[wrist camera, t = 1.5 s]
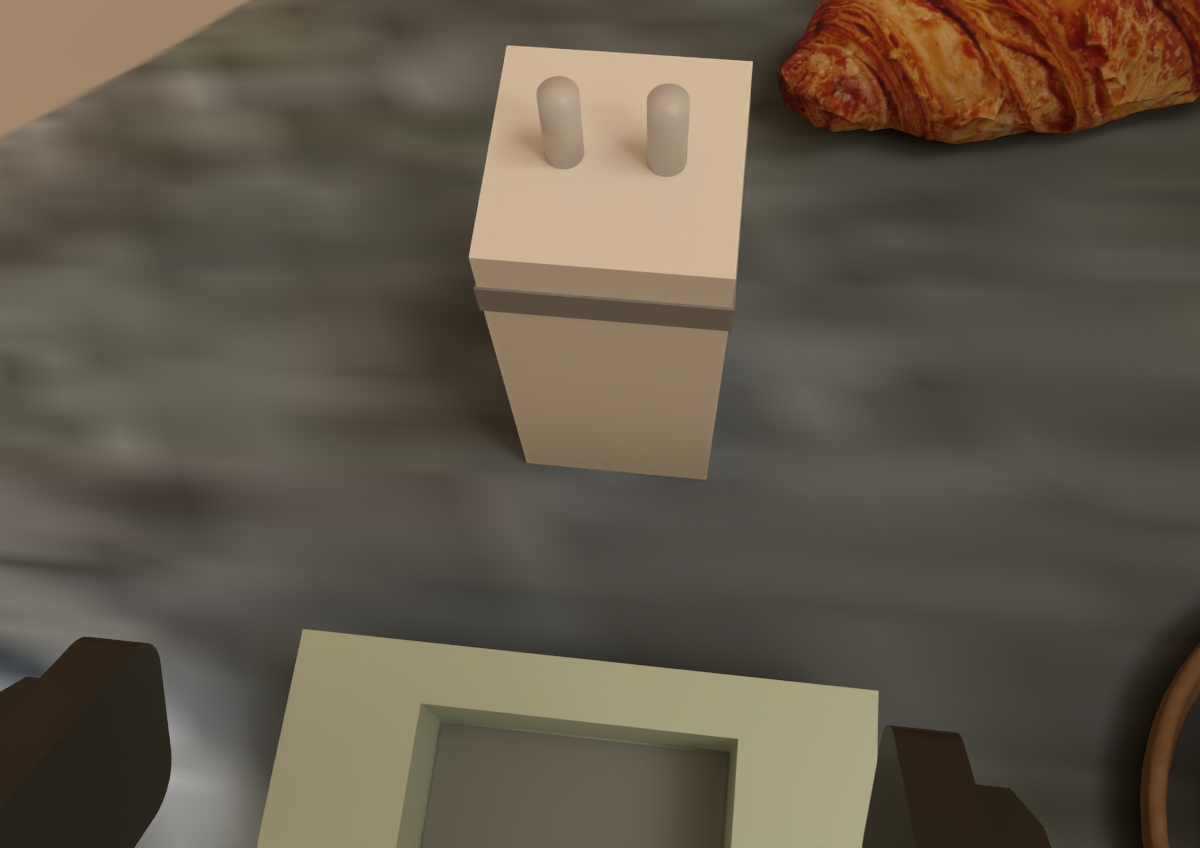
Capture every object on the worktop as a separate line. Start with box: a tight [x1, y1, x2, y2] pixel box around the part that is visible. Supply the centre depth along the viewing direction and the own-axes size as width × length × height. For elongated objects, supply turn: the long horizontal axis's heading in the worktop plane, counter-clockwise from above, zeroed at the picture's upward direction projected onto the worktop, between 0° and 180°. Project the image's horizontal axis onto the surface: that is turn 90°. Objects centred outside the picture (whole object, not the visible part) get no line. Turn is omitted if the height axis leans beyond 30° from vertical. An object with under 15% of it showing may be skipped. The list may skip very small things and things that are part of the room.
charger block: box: [469, 46, 753, 480], centre depth 24 cm, size 5×5×12 cm
